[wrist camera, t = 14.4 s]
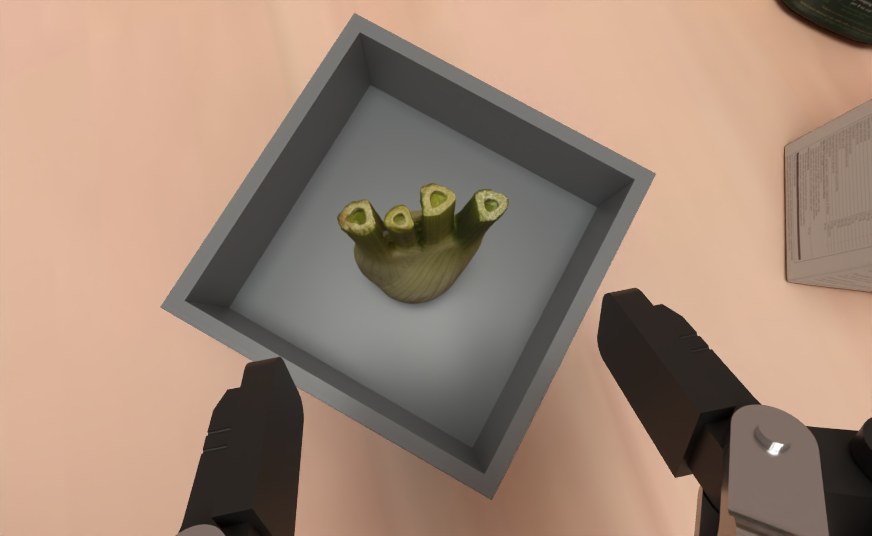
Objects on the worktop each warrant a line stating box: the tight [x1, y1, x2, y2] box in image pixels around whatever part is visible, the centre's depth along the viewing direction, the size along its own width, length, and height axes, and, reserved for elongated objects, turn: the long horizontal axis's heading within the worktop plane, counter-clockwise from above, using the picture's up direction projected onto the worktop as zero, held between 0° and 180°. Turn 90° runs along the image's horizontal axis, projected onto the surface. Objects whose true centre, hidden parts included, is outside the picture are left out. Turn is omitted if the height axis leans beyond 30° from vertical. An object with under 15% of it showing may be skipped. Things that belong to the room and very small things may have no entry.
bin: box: [161, 13, 656, 500], centre depth 25 cm, size 18×18×6 cm
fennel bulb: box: [337, 183, 509, 304], centre depth 21 cm, size 6×5×12 cm
